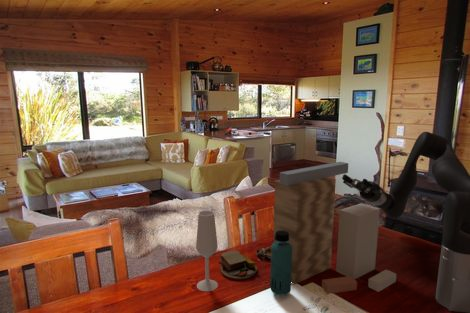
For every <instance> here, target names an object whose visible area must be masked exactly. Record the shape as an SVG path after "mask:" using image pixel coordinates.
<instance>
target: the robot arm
mask: <svg viewBox="0 0 470 313" xmlns="http://www.w3.org/2000/svg"><path fill="white" fill-rule="evenodd" d="M421 156H422V157H425V158H428V159H430V160H434V162H433V163H432V165H431V173H432V175H433V178H434V180H435V182H436V183H437V185H438V186H439V187H440V188H441V189H443V190H444V191H446V192H448V193H447V195H446V197H445V201H444V210H443V225H442V239H441V246H440V248H441V249H440V256H439V257H440V258H439V263H438V272H437V280H436V282H437V283H436V290H435V297H434V298H435V300H436V302H437V303H438V304H440V305H441V306H443V307H444V308H446V309H447V310H448V311H450V312H456V313H457V312H458V313H470V234H469V233H467V232H465V231H463V230H461V226H467V227H470V173H469V172H468V170H467V168H466V167H465V166H464V164H463V163H462V161H461V160H460V159H459V157H458V155H456V153H455V150H454V149H453V145H452V143H451V141H450V140H449V139H448V138H447V137H444V136H441V135H438V134H435V133H433V132H429V131H423V132H422V133H420V134H419V135H418V137H417V138H416V140H415V142H414V144H413V146H412V147H411V149H410V152H409V154H408V157H407V158H406V161H405V164H404V167H403V169H402V171H401V173H400V175H399V176H398V178H397V180H396V181H395V182H394V184H393V186H392V187H391V190H390V191H391V194H390V193H387V191H385V189H384V188H382V186H381V185H379V184H378V183H376V182H375V181H372V180H371V181H370V180H368V179H366V178H362V180H359V179H357V178H352V177H350V176H349V175H347V174H346V173H345V174H342V177H341V179H342V181H343V182H342V183H343V184H344V185H346V186H347V187H349V188H351V189H355V190H357V191H358V193H359V196H360V197H361V198H363V199H364V200H365V201H367V202H369V204H372V205H374V207H376V208H380V209H381V210H382V211H383V212H384V214H386V215H387V216H388V217H389V218H390V219H393V220H394V219H395V220H396V219H399V218H400V217H402V215H403V214H404V212H405V210H406V207H407V202H408V200H409V197H410V195H412V193H413V191H414V189H415V187H416V186H417V182H418V174H417V173H418V172H417V163H418V160H419V158H420V157H421Z"/></svg>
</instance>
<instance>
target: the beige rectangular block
mask: <svg viewBox="0 0 470 313" xmlns="http://www.w3.org/2000/svg"><path fill="white" fill-rule="evenodd" d="M396 282H397V273H396V272H393V271H390V270H389V269H384V270H383V271H380V272H378V273H377V274H375V275H373V276H371V277H369V278H368V284H367V287H368V288H369V289H371V290H374V291H376V292H378V293H379V292H380V291H383V290H384V289H386V288H388V287H389V286H390V285H393V284H394V283H396Z"/></svg>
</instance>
